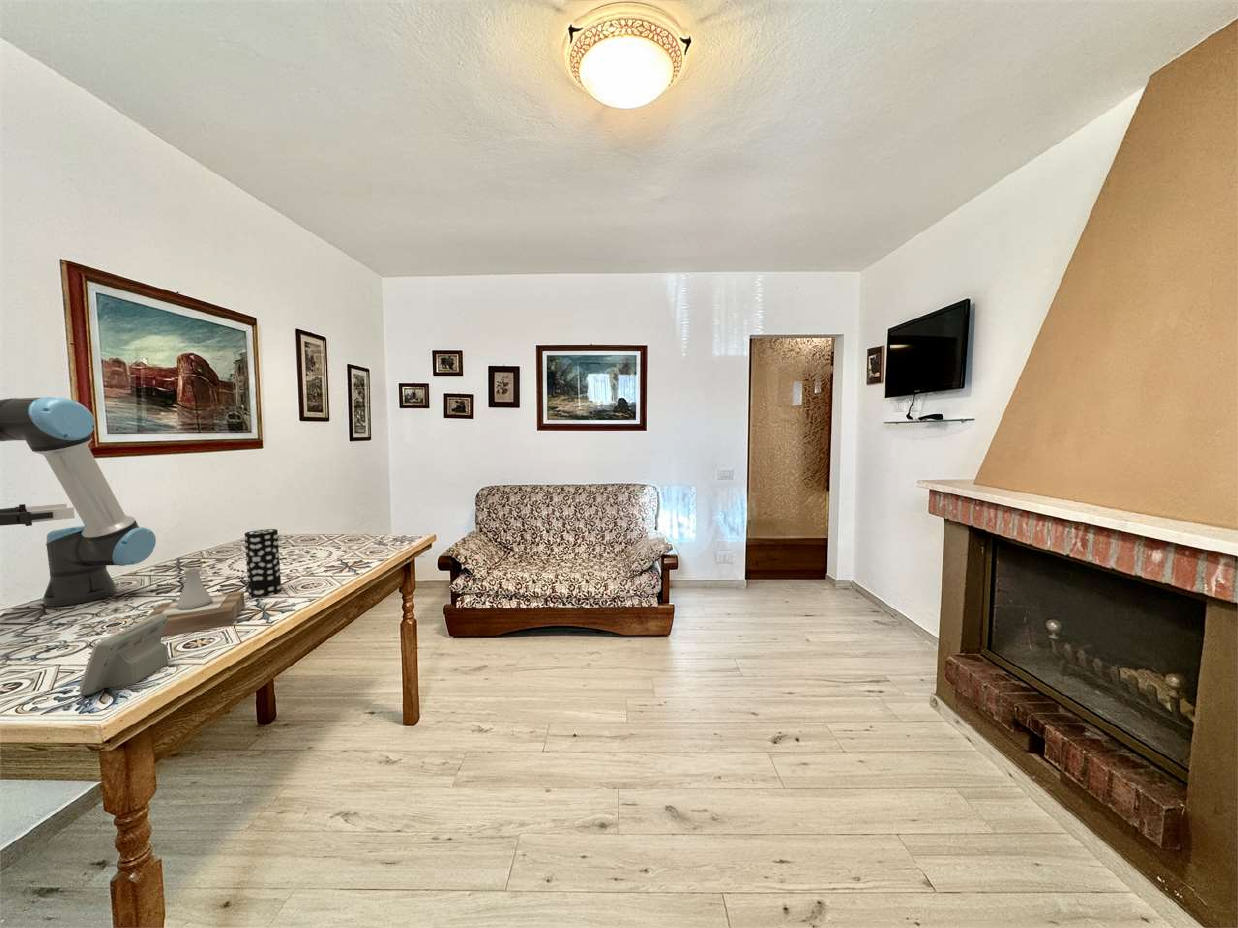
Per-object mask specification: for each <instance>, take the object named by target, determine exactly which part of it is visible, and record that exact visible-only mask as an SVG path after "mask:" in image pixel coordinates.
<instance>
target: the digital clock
mask: <svg viewBox="0 0 1238 928" xmlns="http://www.w3.org/2000/svg"><path fill="white" fill-rule="evenodd" d="M143 620H144V619H143ZM167 620H168V619H167V616H166V615H164V614H159V615H155V616H153V617H150V618H148V619H146V620H144V621H142V620H141V621H142V622H141V621H140V622H138V623H135V624H132V625H130V626H128V627H127V628H125V629H123V630H120V631H118V632H116V633H113V634H111V635H110V636H107V637H105V638H103V639H101V640H99V641H97V642H96V643H95V644H94V645H93V647H92V649H91V653H90V655H89V658H88V661H87V665H86V667H85V670H84V673H83V677H82V680H81V682H80V684H79V689H78V690H79V693H80V695H81V696H89V695H93V694H95V693H97V692H99V691H102V690H103V689H106V688H115V687H116V688H117V687H127V686H134V685H135V684H137V683H138V682H141V681H142V680H143V679H145V678H146V677H148V676H151V674H153V673H155V672H157V671H159V670H160V669H162V668H163V667H165V666H166V665H168V663H169V660H168V648H167V645H166V644H165V643H164V642H162V638H163V637H162V635H163V632H164V630H165V627H166V624H167Z"/></svg>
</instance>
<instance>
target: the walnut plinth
mask: <svg viewBox="0 0 1238 928" xmlns="http://www.w3.org/2000/svg"><path fill="white" fill-rule="evenodd" d="M210 597H211V598H212V600H213V602H211V603H209V604H206V605H203V606H199V607H195V608H191V609H178V608H177V607H176V606H177V603H178V601H179V600H174V601H168V602H167V601H166V602H162V603H160V604H159V605H158V606H157V607H155V609H154V610H153V611H151V612H150V613H149V614H148V615H147V616H145V617H144V618H143V619H142V620H141V621H140V622H142V621H144V620H146V619H148V618H150V617H153V616H155V615H159V614H164V615H166V616H167V619H168V620H167V624H166V627H165V630H164V632H163V635H162V638H164V637H170V636H176V635H181V634H186V633H193V632H197V631H203V630H210V629H215V628H219V627H220V628H221V627H226V626H232V625H233V624H234V622H235V621H236V619H237V618H238V615H240V612H241V610H242V609H243V607H244V606H245V592H244V590H242V591H235V592H228V593H222V594H215V595H210Z"/></svg>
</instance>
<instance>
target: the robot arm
mask: <svg viewBox="0 0 1238 928" xmlns="http://www.w3.org/2000/svg"><path fill="white" fill-rule="evenodd" d="M95 425H96V422H95V418H94V416H93V414H92V412H91V411H90V410H89V409H88V407H86V406H85V405H84V404H82V403H80V402H78V401H75V400H73V399H69V398H65V397H64V398H63V397H62V398H61V397H53V396H52V397H51V396H49V397H48V396H47V397H29V398H28V397H25V398H22V397H21V398H19V397H13V398H3V399H0V442H10V441H25V442H26V444H27V445H28V447H29V449H30V450H31V452H33V453H36V454H39V455H42V456H44V458H45V459H46V461H47V462H48V463H47V464H48V465H49V466H50V469H51V470H52V471H53V473H54V475H55V477H56V479H57V480H58V482H59V484H60V485H61V486H62V489H63V491H64V492H65V494H66V495H67V498H68V499H69V500H70V502H71V504H72V506H71V507H68V505H67V503H66V502H65V503H55V504H53V503H52V504H44V505H42V504H41V505H32V506H30V505H29V506H26V503H25V504H24V503H21V504H18V506H15V507H8V508H7V507H6V508H0V527H1V526H2V527H3V526H14V525H25V527H30V526H33V523H40V522H42V523H43V522H50V521H59V520H60V521H61V520H69V519H75V511H76V512H77V514H78V516H79V518H80V520H81V521H82V523H83V525H78V526H73V527H67V528H60V529H55V530H51V531H49V532H48V533H47V534H46V543H45V545H46V553H47V559H48V560H47V561H48V569H49V577H50V579H49V582H48V584H47V587H46V590H45V593H44V595H43V598H42V600H43V606H45V607H63V606H70V605H71V606H72V605H78V604H83V603H87V602H93V601H97V600H99V599H101V600H102V599H104V598H106V597H110V596H112V595H115V594H116V593H117V592H118V591H117V584H116V583H115V581H114V579H113V578H112V577H111V574H110V572H109V571H108V569H107V567H108V566H119V567H125V566H131V565H132V566H133V565H138V564H140V563H141V562H144V561H146V559H148V558H149V557H150V556H151V554H152V553H153V551H154V548H155V547H156V542H157V539H156V538H157V537H156V535H155V533H154V532H153V531H152V530H151V529H149V528H147V527H140V526H139V524H138V522H137V520H136V519H135V517H133V516H131V515H126V514H125V512H124V511H123V509H122V507H121V505H120V503H119V501H118V499H117V498H116V496H115V494H114V492H113V490H112V488H111V486H110V485H109V482H108V481H107V479H106V477H105V475H104V474H103V472H102V470H101V468H100V466H99V464H98V462H97V460H96V459H95V457H94V454H93V453H92V451H91V449H90V447H89V445H90V443H91V441H92V440H93V437H92V436H91V434H92V433H93V431H94V429H95V428H94V427H95Z"/></svg>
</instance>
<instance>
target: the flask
mask: <svg viewBox="0 0 1238 928" xmlns="http://www.w3.org/2000/svg"><path fill="white" fill-rule="evenodd" d="M200 571H201V567H192V568H186V569H184V570H183V572H184V573H185V581H184V586H183V587H182V591H181V594H180V596H179V598H178V600H177V601H178V603H177V606H176V607H177V608H178V609H191V608H195V607H199V606H203V605H206V604H209V603H211V602H213V600H212V598H211V597H210V596H211V595H210V594H209V592H208V591H207V588H206V587H205V585H204V584H203V582H202V579H201V578H202V577H201V576H200V575H201V574H200Z"/></svg>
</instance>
